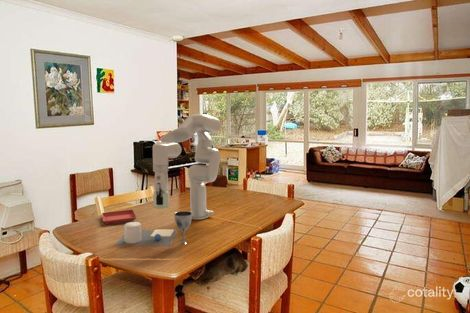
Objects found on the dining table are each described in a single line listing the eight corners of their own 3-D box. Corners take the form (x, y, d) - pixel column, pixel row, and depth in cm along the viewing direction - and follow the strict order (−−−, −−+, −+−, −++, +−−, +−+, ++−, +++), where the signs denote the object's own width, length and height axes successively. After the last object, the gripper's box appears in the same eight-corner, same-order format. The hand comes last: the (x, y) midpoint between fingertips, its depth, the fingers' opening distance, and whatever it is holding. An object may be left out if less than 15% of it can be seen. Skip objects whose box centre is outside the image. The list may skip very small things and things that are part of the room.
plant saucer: (102, 217, 198) (101, 212, 198) (133, 214, 205) (132, 209, 205) (103, 227, 182) (102, 221, 181) (137, 222, 189) (136, 217, 189)
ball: (161, 239, 161) (161, 232, 161) (160, 241, 158) (160, 235, 157) (155, 239, 161) (155, 232, 161) (153, 241, 158) (153, 235, 158)
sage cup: (170, 204, 171) (170, 189, 170) (167, 208, 164) (167, 193, 163) (156, 204, 171) (155, 189, 170) (152, 208, 164) (152, 192, 163)
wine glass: (175, 241, 160) (175, 211, 158) (192, 240, 161) (192, 210, 159) (174, 247, 152) (173, 216, 150) (191, 247, 153) (191, 215, 151)
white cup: (143, 237, 163) (142, 221, 162) (138, 243, 156) (137, 226, 155) (127, 237, 163) (127, 221, 162) (122, 243, 156) (122, 226, 155)
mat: (177, 230, 174) (177, 229, 174) (169, 246, 154) (169, 244, 153) (128, 230, 175) (128, 229, 174) (114, 246, 154) (114, 244, 154)
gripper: (164, 171, 157) (165, 207, 159) (171, 165, 174) (172, 198, 176) (148, 170, 157) (149, 207, 159) (157, 165, 174) (158, 198, 176)
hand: (161, 202), depth 167 cm, fingers closed on sage cup, 7 cm apart
